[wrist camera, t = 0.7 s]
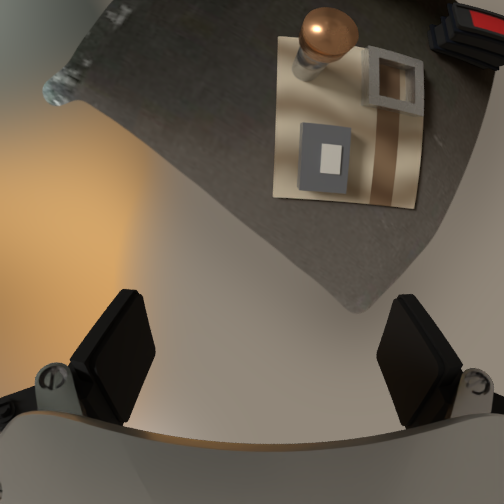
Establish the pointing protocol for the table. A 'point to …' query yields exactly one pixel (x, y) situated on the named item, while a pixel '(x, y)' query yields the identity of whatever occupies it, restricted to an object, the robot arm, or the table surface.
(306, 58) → the awl
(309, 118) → the board
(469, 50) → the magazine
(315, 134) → the block
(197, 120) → the table surface
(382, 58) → the socket
